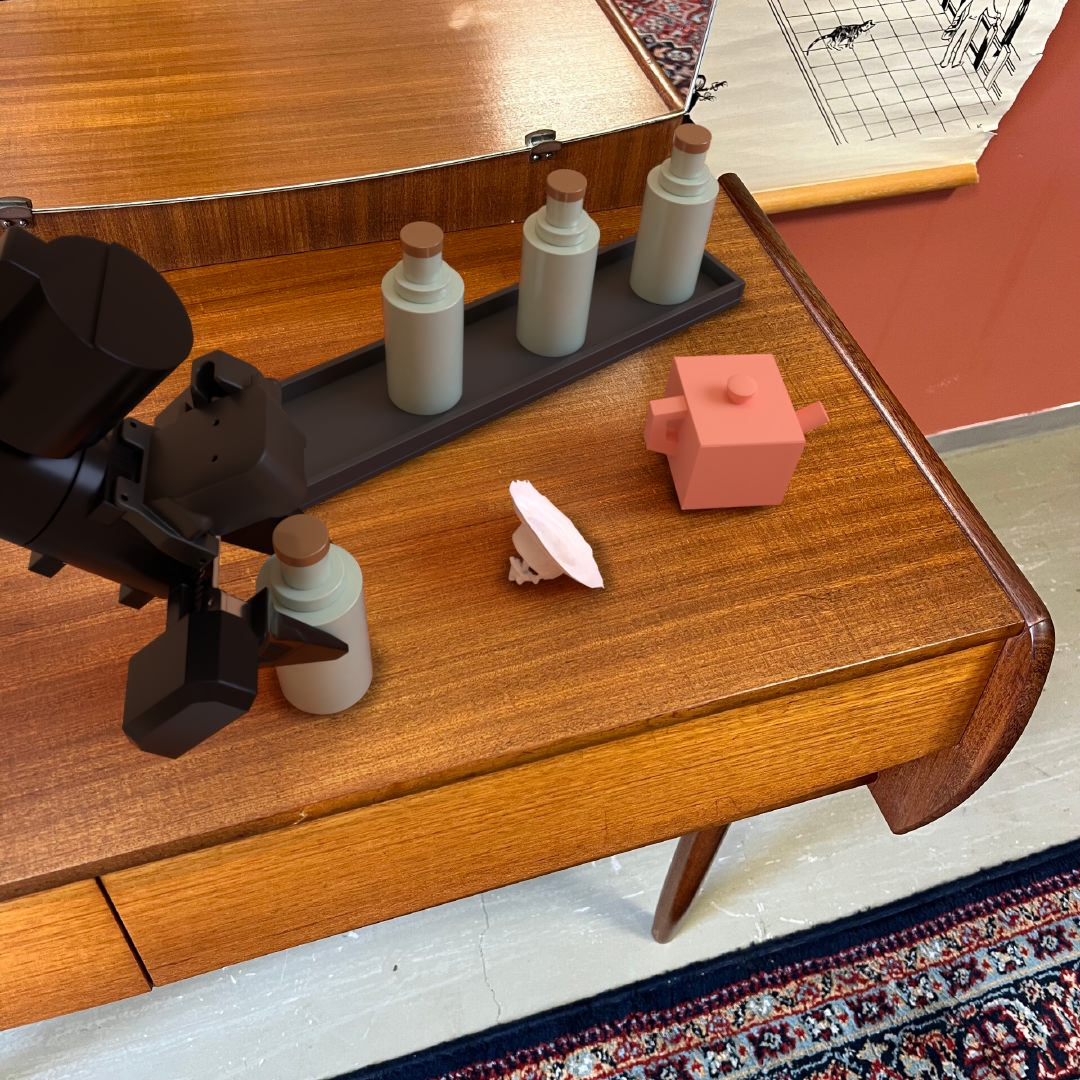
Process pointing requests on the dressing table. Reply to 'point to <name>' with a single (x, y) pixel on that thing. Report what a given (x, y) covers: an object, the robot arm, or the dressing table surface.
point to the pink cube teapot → (729, 430)
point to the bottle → (319, 613)
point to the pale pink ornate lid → (548, 541)
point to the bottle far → (675, 220)
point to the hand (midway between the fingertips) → (341, 607)
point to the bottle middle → (557, 269)
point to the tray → (480, 373)
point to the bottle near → (423, 324)
